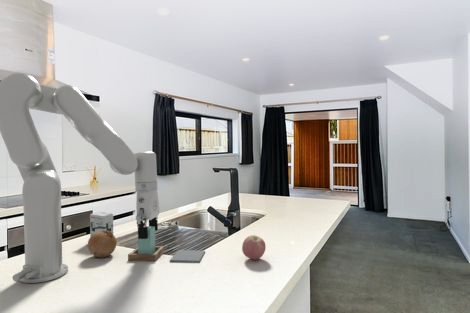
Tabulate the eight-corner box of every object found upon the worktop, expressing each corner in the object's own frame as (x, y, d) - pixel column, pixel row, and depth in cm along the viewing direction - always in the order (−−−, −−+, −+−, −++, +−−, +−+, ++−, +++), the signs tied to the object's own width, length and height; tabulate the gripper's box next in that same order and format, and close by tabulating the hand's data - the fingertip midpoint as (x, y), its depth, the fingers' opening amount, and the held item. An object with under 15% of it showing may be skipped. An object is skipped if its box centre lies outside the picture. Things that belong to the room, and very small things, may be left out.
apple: (246, 264, 98) (245, 240, 98) (239, 256, 105) (239, 234, 105) (268, 262, 100) (268, 238, 100) (260, 254, 107) (260, 232, 107)
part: (150, 258, 105) (150, 229, 105) (138, 258, 105) (137, 229, 105) (155, 253, 109) (154, 226, 109) (143, 253, 110) (142, 226, 109)
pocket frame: (155, 261, 102) (155, 255, 102) (128, 260, 103) (128, 254, 103) (164, 251, 111) (164, 246, 111) (139, 251, 112) (139, 245, 112)
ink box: (89, 242, 124) (89, 213, 124) (100, 239, 129) (99, 211, 128) (104, 245, 120) (103, 215, 120) (114, 241, 124) (113, 213, 124)
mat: (199, 262, 100) (199, 260, 100) (170, 261, 101) (170, 259, 101) (205, 252, 110) (205, 250, 110) (178, 251, 111) (178, 250, 111)
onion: (113, 262, 110) (126, 236, 111) (96, 264, 101) (110, 236, 102) (95, 250, 113) (107, 225, 114) (76, 251, 104) (90, 224, 105)
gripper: (147, 189, 98) (149, 242, 98) (164, 183, 115) (166, 227, 116) (125, 190, 99) (127, 242, 99) (145, 183, 116) (147, 227, 116)
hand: (148, 234), depth 107 cm, fingers open, 9 cm apart
